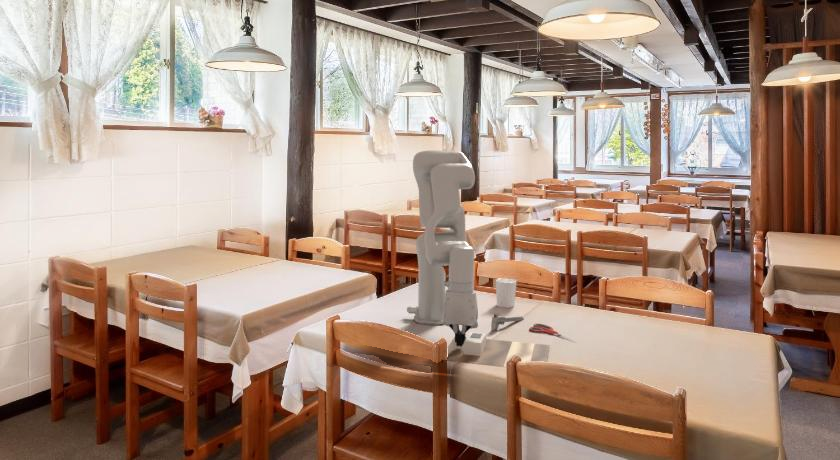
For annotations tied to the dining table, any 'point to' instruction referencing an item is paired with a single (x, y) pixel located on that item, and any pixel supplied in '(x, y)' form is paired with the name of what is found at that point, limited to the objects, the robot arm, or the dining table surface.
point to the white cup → (505, 292)
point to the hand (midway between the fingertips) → (460, 344)
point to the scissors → (546, 330)
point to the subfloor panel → (499, 352)
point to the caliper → (502, 321)
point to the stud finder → (475, 344)
